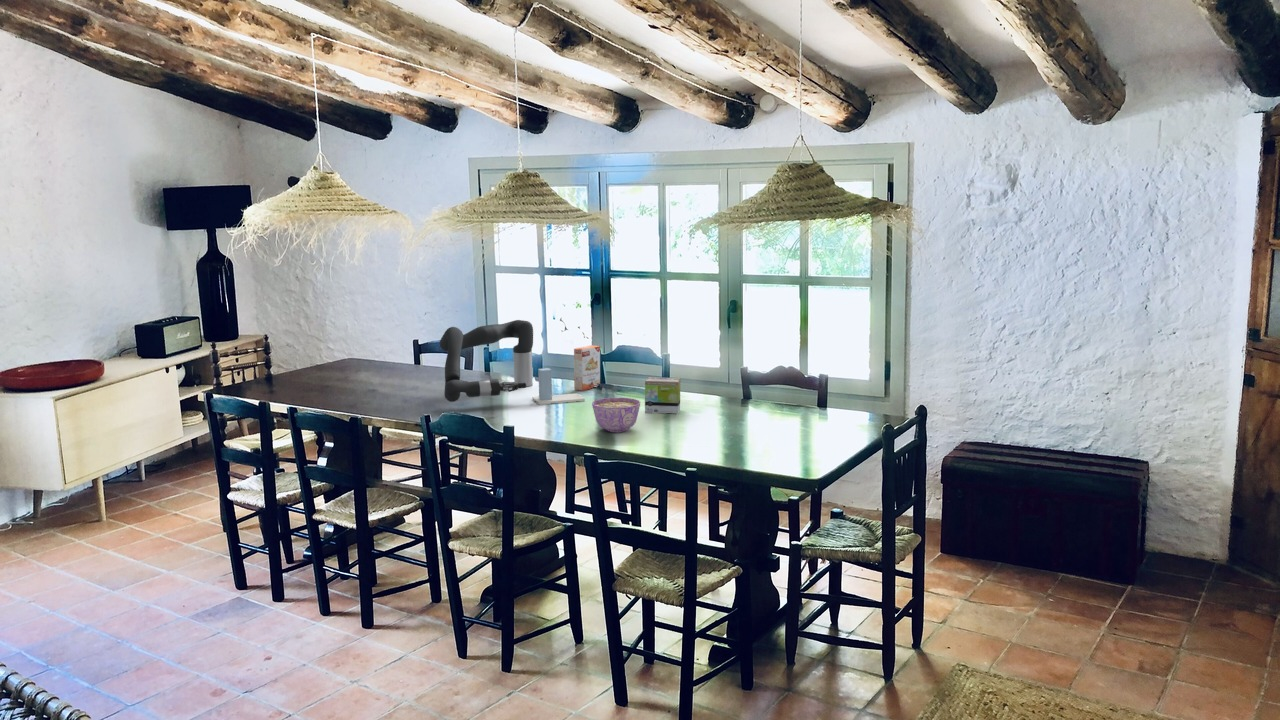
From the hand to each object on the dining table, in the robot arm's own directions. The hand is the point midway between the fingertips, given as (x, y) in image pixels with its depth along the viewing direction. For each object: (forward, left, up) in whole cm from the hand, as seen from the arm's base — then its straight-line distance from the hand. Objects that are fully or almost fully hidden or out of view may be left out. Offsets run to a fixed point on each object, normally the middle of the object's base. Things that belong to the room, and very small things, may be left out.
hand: (525, 385), depth 459 cm
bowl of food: (+66, +23, -9) cm, 70 cm away
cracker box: (-22, +37, -9) cm, 44 cm away
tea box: (+41, +53, -9) cm, 67 cm away
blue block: (0, +9, -7) cm, 12 cm away
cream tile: (0, +16, -8) cm, 18 cm away
